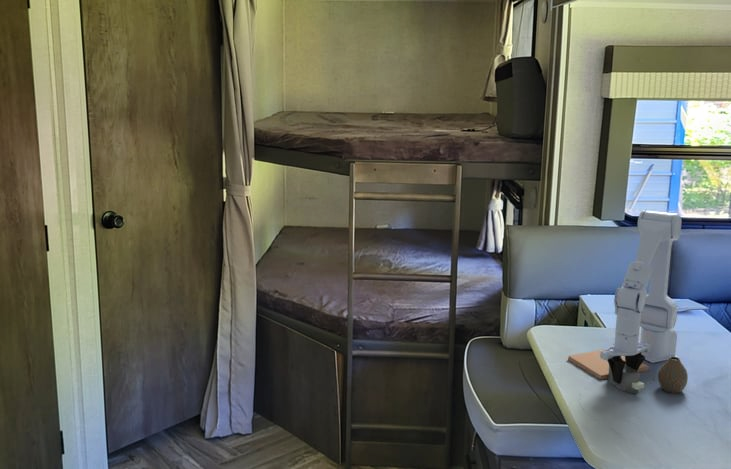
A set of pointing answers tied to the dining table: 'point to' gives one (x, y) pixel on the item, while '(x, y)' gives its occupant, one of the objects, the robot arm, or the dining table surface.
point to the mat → (597, 363)
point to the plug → (628, 380)
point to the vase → (672, 375)
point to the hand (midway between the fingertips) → (623, 380)
